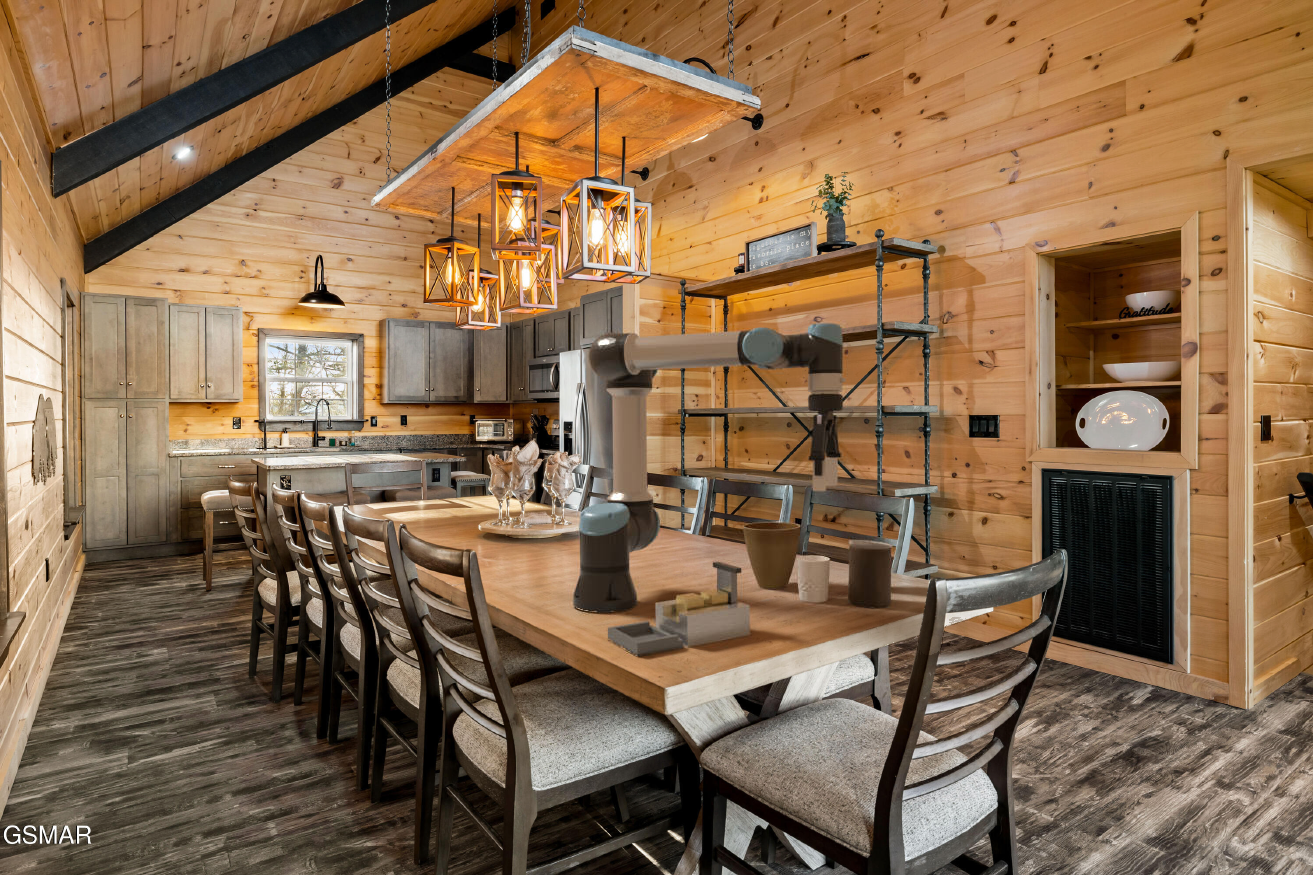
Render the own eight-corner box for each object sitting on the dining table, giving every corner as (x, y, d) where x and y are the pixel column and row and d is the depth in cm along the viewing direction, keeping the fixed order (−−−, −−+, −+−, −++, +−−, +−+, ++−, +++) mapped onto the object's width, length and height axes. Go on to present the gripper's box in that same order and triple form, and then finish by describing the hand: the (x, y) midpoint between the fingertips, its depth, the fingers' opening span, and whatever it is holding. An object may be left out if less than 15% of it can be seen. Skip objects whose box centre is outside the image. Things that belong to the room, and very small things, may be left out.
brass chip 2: (716, 608, 152) (716, 589, 152) (727, 612, 149) (727, 593, 149) (700, 610, 150) (700, 591, 150) (711, 615, 147) (711, 595, 147)
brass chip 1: (692, 612, 149) (692, 592, 149) (703, 616, 146) (703, 596, 146) (676, 614, 147) (676, 595, 147) (687, 619, 144) (687, 599, 144)
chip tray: (651, 632, 149) (651, 620, 149) (683, 647, 139) (682, 634, 139) (607, 640, 144) (607, 627, 144) (637, 656, 134) (637, 643, 134)
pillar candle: (866, 609, 165) (867, 544, 165) (839, 600, 174) (840, 537, 174) (900, 605, 169) (901, 541, 169) (872, 596, 178) (872, 535, 178)
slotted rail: (715, 621, 157) (715, 593, 157) (749, 634, 147) (749, 605, 147) (655, 631, 150) (655, 602, 149) (687, 647, 139) (687, 615, 139)
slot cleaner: (718, 603, 155) (718, 561, 155) (741, 611, 148) (741, 567, 148) (713, 604, 154) (712, 562, 154) (735, 612, 147) (735, 568, 147)
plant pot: (793, 579, 198) (792, 520, 197) (807, 592, 183) (807, 528, 183) (738, 580, 197) (738, 521, 197) (748, 593, 182) (748, 529, 182)
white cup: (830, 604, 171) (830, 561, 171) (796, 602, 172) (796, 560, 172) (829, 596, 179) (829, 555, 178) (796, 595, 180) (796, 554, 180)
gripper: (831, 391, 150) (831, 493, 150) (851, 394, 172) (851, 484, 173) (795, 391, 153) (795, 492, 153) (820, 395, 175) (820, 483, 176)
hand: (825, 488), depth 163 cm, fingers open, 13 cm apart
